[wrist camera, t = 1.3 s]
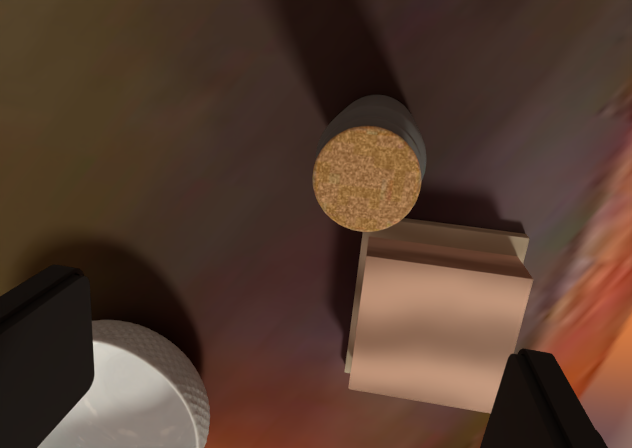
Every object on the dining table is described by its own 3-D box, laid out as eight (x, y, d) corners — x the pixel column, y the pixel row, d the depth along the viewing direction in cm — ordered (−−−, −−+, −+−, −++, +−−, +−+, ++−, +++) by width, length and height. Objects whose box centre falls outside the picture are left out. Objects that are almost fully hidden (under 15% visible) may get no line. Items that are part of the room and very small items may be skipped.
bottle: (356, 80, 33) (332, 88, 19) (430, 115, 33) (461, 149, 19) (323, 154, 35) (279, 210, 21) (393, 187, 35) (395, 266, 21)
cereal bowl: (198, 284, 41) (160, 327, 34) (248, 440, 45) (223, 503, 39) (33, 310, 44) (-30, 352, 38) (95, 451, 49) (49, 512, 42)
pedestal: (365, 213, 36) (361, 234, 32) (525, 233, 35) (546, 259, 30) (345, 365, 41) (339, 403, 36) (486, 388, 40) (499, 431, 35)
